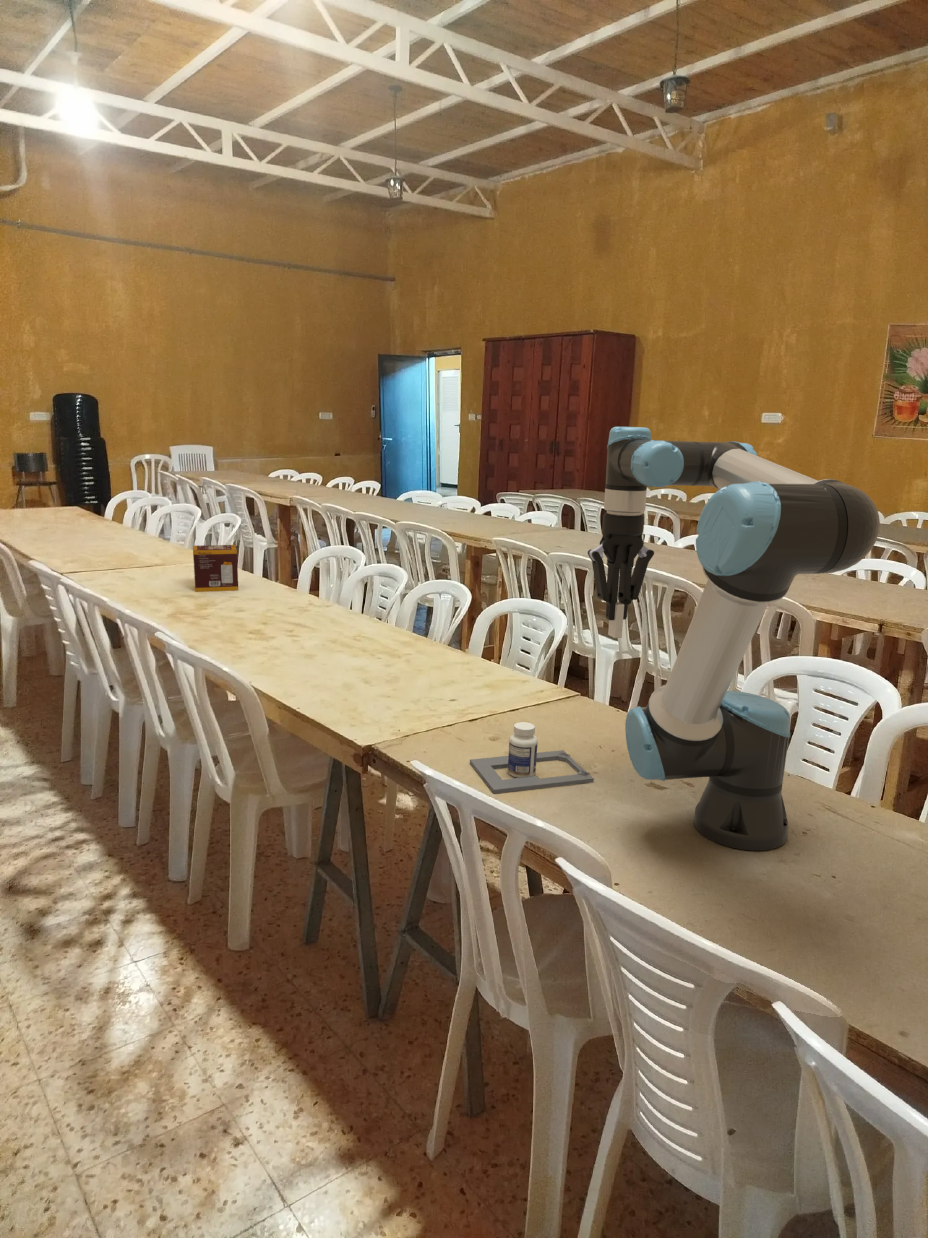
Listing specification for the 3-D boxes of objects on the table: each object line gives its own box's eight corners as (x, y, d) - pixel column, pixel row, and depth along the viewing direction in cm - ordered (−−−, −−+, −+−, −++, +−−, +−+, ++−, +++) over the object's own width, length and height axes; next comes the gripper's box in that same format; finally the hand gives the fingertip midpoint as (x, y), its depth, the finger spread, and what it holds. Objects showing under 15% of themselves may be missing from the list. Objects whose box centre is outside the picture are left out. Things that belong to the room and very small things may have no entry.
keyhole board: (595, 782, 160) (595, 778, 160) (493, 793, 154) (493, 789, 154) (564, 753, 173) (565, 749, 173) (469, 763, 167) (469, 759, 167)
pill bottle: (520, 765, 167) (523, 718, 164) (541, 774, 163) (544, 726, 161) (501, 772, 163) (504, 724, 161) (522, 781, 159) (525, 733, 157)
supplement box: (194, 586, 318) (192, 545, 314) (237, 585, 323) (235, 544, 319) (195, 592, 308) (192, 549, 305) (238, 590, 313) (237, 548, 309)
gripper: (645, 509, 162) (635, 629, 167) (583, 510, 158) (575, 632, 163) (665, 514, 155) (655, 639, 160) (601, 515, 151) (592, 643, 156)
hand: (614, 636), depth 162 cm, fingers closed
